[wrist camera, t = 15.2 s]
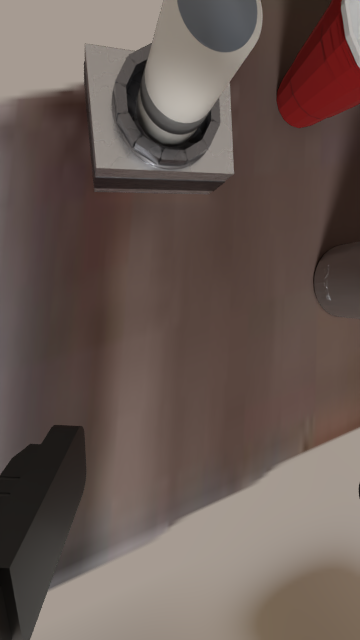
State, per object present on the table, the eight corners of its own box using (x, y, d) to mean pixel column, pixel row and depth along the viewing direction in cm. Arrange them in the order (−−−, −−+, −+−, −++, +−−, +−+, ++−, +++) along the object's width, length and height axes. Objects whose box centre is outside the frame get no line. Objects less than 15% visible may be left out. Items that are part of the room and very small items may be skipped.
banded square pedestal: (204, 105, 32) (237, 52, 25) (208, 194, 33) (242, 168, 26) (84, 91, 29) (83, 26, 22) (93, 192, 30) (96, 160, 23)
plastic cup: (338, 152, 38) (447, 92, 26) (261, 150, 35) (347, 81, 23) (335, 56, 36) (448, -51, 25) (254, 45, 33) (342, -83, 22)
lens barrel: (195, 82, 26) (262, -44, 16) (199, 149, 26) (266, 66, 17) (132, 74, 24) (164, -71, 14) (138, 145, 25) (172, 51, 15)
